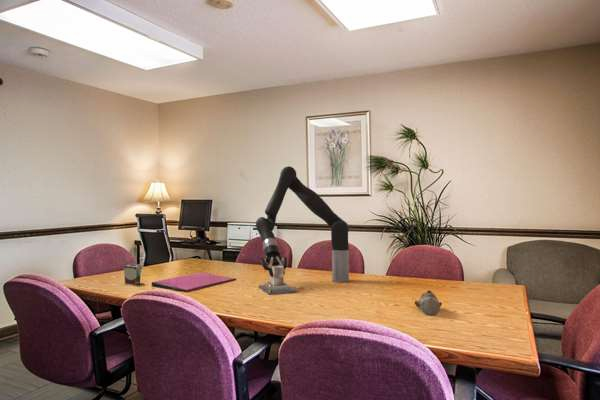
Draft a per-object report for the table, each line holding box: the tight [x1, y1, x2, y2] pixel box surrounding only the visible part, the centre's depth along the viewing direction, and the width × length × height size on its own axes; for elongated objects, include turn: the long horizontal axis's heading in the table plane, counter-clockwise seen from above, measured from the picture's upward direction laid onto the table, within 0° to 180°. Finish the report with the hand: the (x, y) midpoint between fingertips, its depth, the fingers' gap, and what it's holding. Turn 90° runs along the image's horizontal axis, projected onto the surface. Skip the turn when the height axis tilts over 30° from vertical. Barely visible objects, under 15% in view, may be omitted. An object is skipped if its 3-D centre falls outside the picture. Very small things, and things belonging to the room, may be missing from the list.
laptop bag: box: [150, 272, 237, 293], centre depth 217 cm, size 40×4×27 cm
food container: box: [122, 263, 143, 286], centre depth 218 cm, size 12×6×10 cm, turn 58°
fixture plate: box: [258, 281, 297, 296], centre depth 200 cm, size 14×18×4 cm
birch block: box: [269, 265, 285, 286], centre depth 201 cm, size 5×7×9 cm
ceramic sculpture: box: [414, 290, 443, 316], centre depth 160 cm, size 11×9×15 cm
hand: (277, 275), depth 199 cm, fingers closed on birch block, 5 cm apart
